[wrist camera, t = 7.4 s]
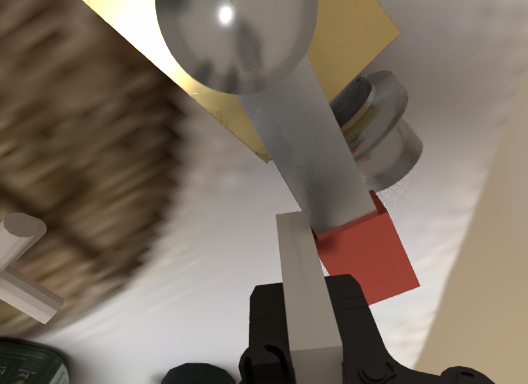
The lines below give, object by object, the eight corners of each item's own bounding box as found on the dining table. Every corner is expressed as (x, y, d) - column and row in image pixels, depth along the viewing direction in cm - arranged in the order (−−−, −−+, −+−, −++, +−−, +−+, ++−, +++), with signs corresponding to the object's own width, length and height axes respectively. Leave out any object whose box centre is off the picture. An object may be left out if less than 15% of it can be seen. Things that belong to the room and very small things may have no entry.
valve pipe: (43, -93, 16) (-176, -212, 8) (118, -245, 14) (-83, -618, 6) (332, 179, 23) (368, 262, 15) (414, 108, 21) (510, 159, 13)
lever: (143, -19, 10) (119, -28, 8) (268, -109, 9) (269, -139, 7) (328, 287, 16) (336, 317, 14) (418, 251, 15) (437, 279, 13)
